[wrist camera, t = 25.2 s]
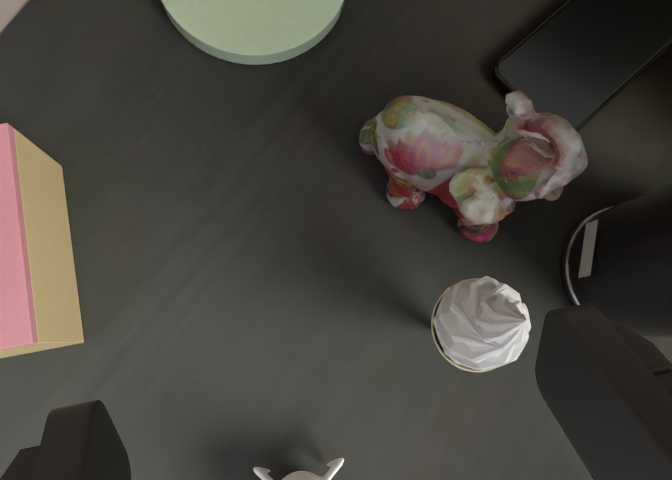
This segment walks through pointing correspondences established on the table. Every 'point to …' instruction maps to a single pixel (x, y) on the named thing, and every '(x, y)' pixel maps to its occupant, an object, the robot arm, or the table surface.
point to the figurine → (472, 158)
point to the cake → (34, 252)
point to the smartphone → (586, 55)
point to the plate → (254, 26)
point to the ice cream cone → (480, 324)
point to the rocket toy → (303, 472)
